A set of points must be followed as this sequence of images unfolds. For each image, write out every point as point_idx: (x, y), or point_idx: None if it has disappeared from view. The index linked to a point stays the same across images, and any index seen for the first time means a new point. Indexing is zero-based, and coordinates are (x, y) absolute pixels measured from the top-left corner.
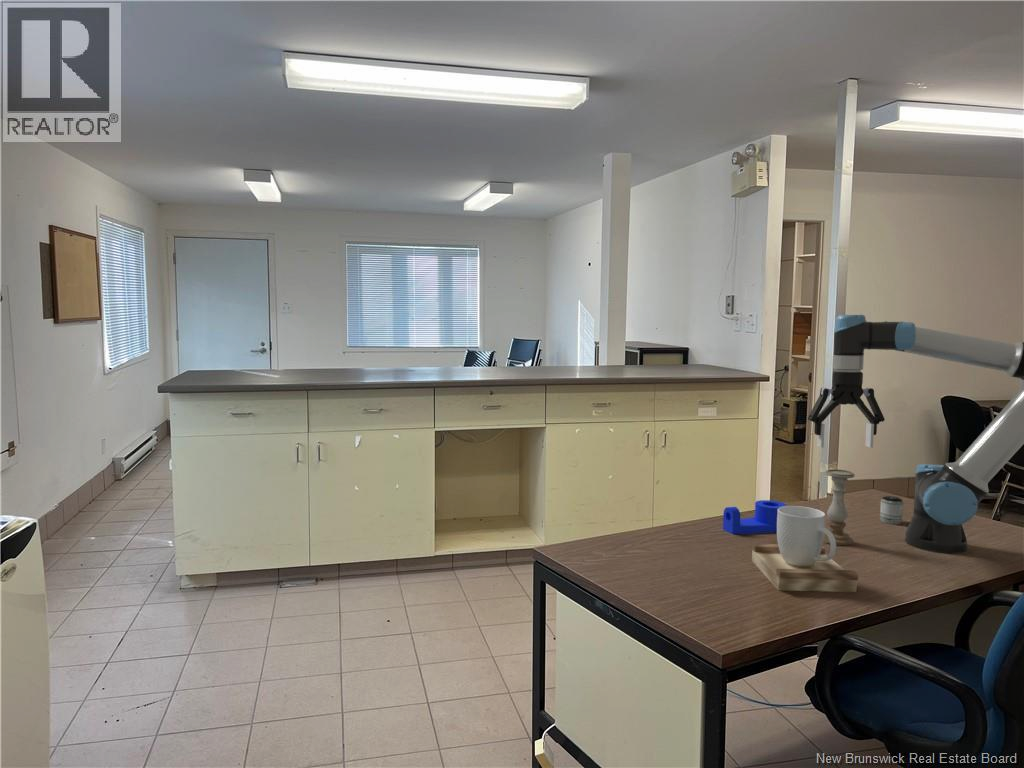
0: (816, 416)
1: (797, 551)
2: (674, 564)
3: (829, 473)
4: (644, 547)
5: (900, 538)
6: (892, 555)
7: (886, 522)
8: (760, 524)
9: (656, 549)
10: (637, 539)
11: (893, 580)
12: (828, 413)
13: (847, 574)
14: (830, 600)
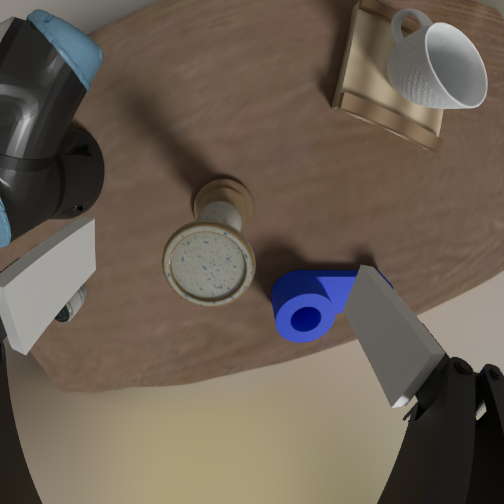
0: (496, 391)
1: (434, 56)
2: (493, 171)
3: (254, 261)
4: (489, 234)
5: (99, 208)
6: (171, 118)
7: (83, 284)
8: (333, 281)
9: (485, 225)
10: (481, 263)
11: (264, 19)
12: (452, 434)
13: (377, 2)
14: (398, 7)
